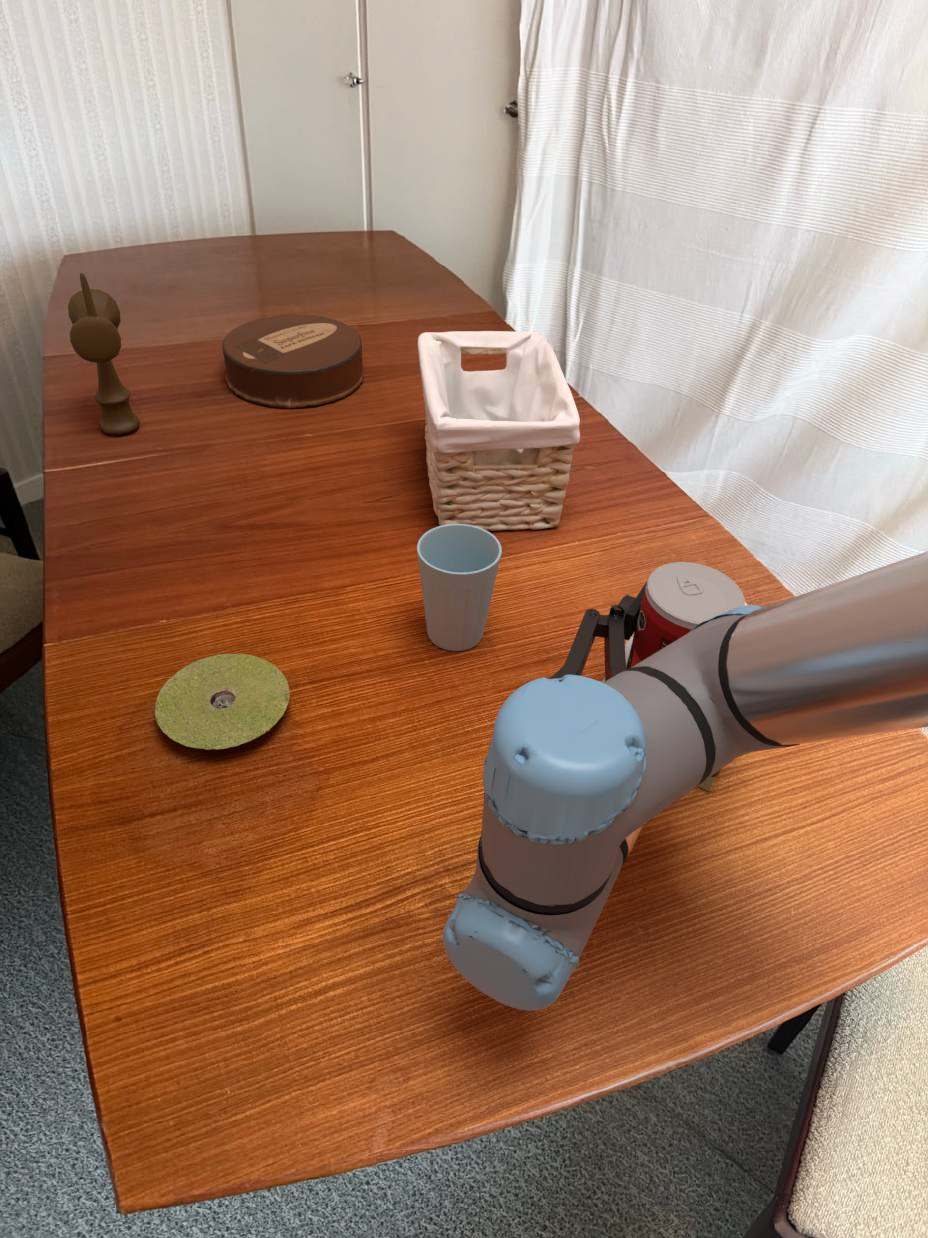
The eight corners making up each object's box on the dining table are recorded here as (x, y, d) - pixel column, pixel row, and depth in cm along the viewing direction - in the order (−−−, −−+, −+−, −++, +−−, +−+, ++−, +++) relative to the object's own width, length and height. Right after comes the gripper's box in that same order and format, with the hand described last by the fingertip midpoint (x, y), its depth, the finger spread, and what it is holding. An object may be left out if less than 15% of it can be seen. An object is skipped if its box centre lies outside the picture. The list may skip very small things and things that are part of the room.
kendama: (142, 409, 114) (107, 257, 100) (146, 442, 107) (110, 284, 94) (96, 414, 112) (54, 260, 99) (97, 448, 105) (53, 288, 92)
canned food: (667, 646, 77) (694, 550, 69) (732, 701, 72) (768, 603, 64) (604, 676, 73) (625, 579, 66) (667, 736, 68) (697, 637, 61)
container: (282, 423, 112) (277, 380, 108) (199, 375, 122) (192, 334, 118) (391, 380, 123) (391, 340, 119) (307, 339, 133) (304, 300, 129)
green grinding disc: (308, 678, 76) (306, 663, 75) (264, 774, 68) (261, 759, 67) (192, 659, 77) (189, 644, 76) (135, 751, 69) (130, 735, 68)
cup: (399, 631, 82) (399, 545, 75) (454, 597, 86) (458, 513, 79) (454, 671, 78) (459, 584, 71) (508, 633, 82) (518, 548, 75)
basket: (569, 538, 95) (587, 420, 85) (428, 542, 93) (429, 422, 83) (534, 435, 113) (546, 328, 103) (415, 436, 111) (415, 328, 101)
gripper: (463, 757, 62) (584, 594, 77) (734, 886, 55) (809, 678, 70) (468, 687, 57) (596, 528, 72) (767, 819, 50) (839, 611, 65)
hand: (701, 602), depth 71 cm, fingers closed on canned food, 8 cm apart
